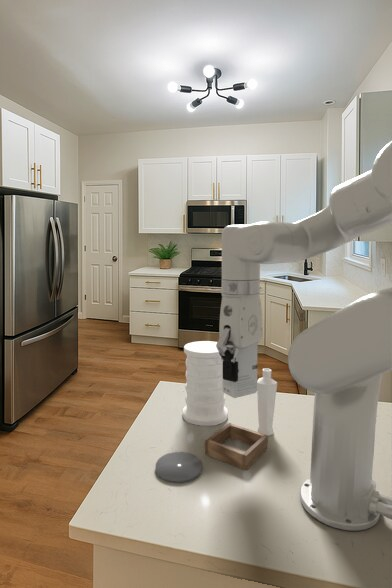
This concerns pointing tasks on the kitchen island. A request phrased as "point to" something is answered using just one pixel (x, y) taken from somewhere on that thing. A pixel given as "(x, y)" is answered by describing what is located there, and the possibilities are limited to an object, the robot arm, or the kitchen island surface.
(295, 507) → the kitchen island surface
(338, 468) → the robot arm
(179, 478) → the coaster
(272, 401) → the white faceted vase
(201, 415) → the decorative container
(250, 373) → the skincare box
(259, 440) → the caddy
